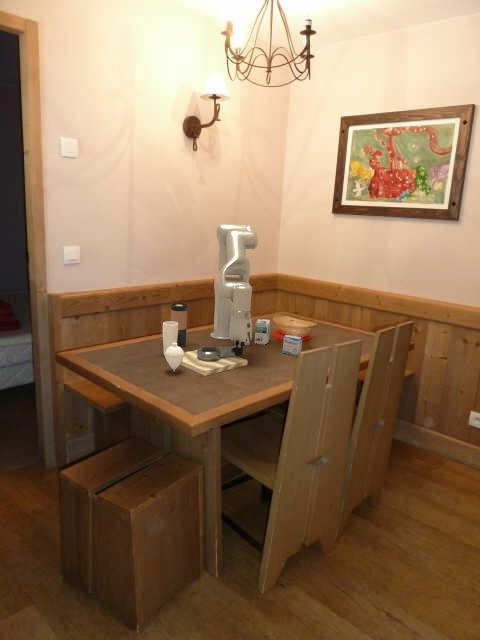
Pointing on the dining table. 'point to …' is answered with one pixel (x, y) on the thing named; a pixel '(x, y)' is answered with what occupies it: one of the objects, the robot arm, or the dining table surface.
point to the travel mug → (180, 321)
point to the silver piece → (215, 352)
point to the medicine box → (292, 344)
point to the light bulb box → (262, 331)
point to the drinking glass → (169, 334)
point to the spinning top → (174, 356)
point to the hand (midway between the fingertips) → (238, 355)
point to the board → (211, 363)
